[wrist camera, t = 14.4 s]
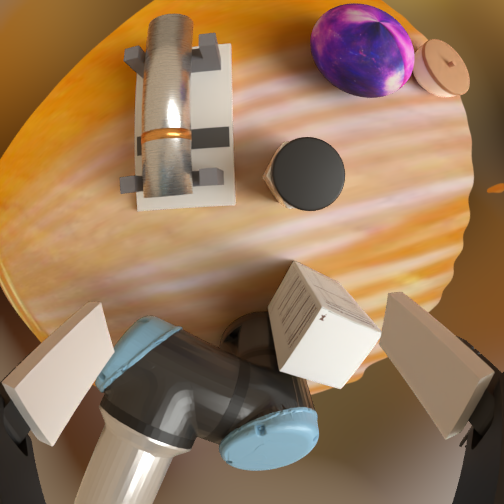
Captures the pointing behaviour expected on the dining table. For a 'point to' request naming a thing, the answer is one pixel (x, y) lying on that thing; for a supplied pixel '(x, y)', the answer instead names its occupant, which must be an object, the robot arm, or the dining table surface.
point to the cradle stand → (195, 129)
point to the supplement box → (319, 328)
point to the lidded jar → (440, 69)
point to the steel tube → (167, 108)
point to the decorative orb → (362, 50)
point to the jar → (305, 174)
